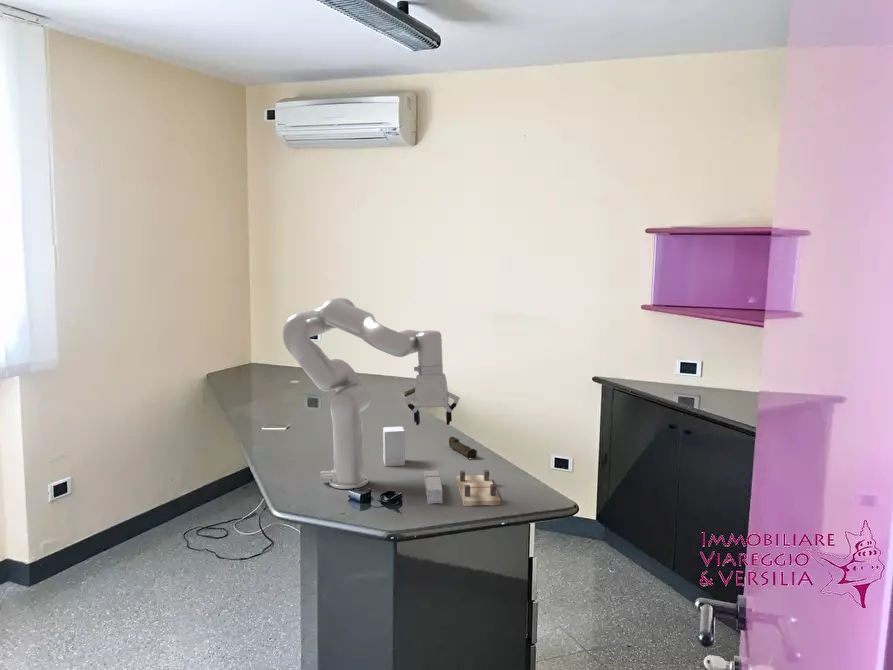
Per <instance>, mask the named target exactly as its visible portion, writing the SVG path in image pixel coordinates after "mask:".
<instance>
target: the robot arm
mask: <svg viewBox="0 0 893 670" xmlns="http://www.w3.org/2000/svg"><path fill="white" fill-rule="evenodd" d="M334 329H338V330H341V331H343V332H346V333H348V334H350V335H353V336H355V337H357V338H359V339H361V340H363V342H365V343H367V344H368V345H369V346H371V347H372V348H374V349H376V350H378V351H380V352H384V353H386V354H388V355H391V356H393V357H398V358H404V357H406V356H408V355H409V356H410V355H412V354H414V353H417V357H418V358H417V360H418V365H417V366H414V367H413V371H414V372H417V375H416V377H415V385H414V393H412V394H410V395H409V396H406V397H405V398H404V402H405V403H406V406H407V407H408V408H409V410H411V411H412V413H413V422H414V423H415V425H416V426H419V425H420V422H421V419H420V417H421V416H420V411H419V409H420V408H444V409H445V410H446V412H445V420H446V421H445V422H446V425H447V426H449V425H450V423H451V422H452V419H453V418H452V411H454V409H455V408H456V407H457V405H458V403H459V401H460V396H458V395H456V394H454V393H452V392H450V391H449V389H448V381H447V377H446V373H444V366H443V345H442V344H443V343H442V341H443V339H442V333H441V332H440V331H438V330H423V331H421V330H420V331H419V330H414V329H412V330H411V329H406V330H403V331H399V332H398V331H397V330H394V329H391V328H389V327H387V326H384V325H383V324H381V323H380V322H378V321H377V320H376V318H375V315H374V314H373V313H371V312H368V311H366V310H363V309H361V308H358V307H356V306H355V304H354V303H353V302H352V301H351V300H350V299H348V298H345V297H339V298H332V299H331V298H330V299H329V300H326V301H325V302H324V303H323V304H322V306H320V307H318V308H316V309H312V310H309V311H308V310H307V311H302V312H297V313H294V314H292V315H291V316H289V317H288V318H287V320H286V321H285V323H284V326H283V328H282V340H283V344H284V345H285V348H286V349H287V351H288V352H289V354H290V355H291V356H292V357H293V359H294V360H295V361H296V362H297V363H298V364H299V366H300V367H301V368H302V369H303V371H304V373H306V375H307V376H308V377H309V378H310V380H311V381H312V382H313V384H314V385H315V386H316V387H317V388H318V389H319V390H320V391H322V392H331V391H333V390H335V391H336V392H335V393H334V394H333V396H332V398H331V400H330V404H329V407H330V409H329V410H330V414H331V421H332V440H333V441H332V442H333V445H332V446H333V447H332V448H333V468H332V469H331V470H328V471H327V470H321V471H320V474H319V477H320V478H323V479H324V480H325V479H329V481H328V482H329V483H328V484H329V486H330V487H332V488H335V489H341V490H351V489H352V490H353V488H354V489H358V488H361V487H364V486H366V485H367V484H368V483H369V478H368V477H367V476H366V475H364V450H363V449H364V441H363V439H364V438H363V437H364V435H363V432H364V431H363V424H362V418H361V413H362V412H363V411H364V410H366V409H367V408H368V407H369V406H370V404H371V402H372V394H371V391H370V389H369V387H368V386H367V385H366V383H365V382H364V380H362V378H360V376H359V375H358V374H357V372H356V371H355V370H354V368H353V367H352V366H351V365H350V364H349V363H348V362H347V361H344V360H343V359H339V358H333V359H330V358H329V357H328V356H327V355H326V353H324V351H323V350H322V348H321V347H319V346H318V344H316V343H315V342H314V341H313V340H312V339H311V338H312V337H316V336H319V335H322V334H325V333H327V332H329V331H331V330H334ZM413 399H414V403H415V405H414V404H413V403H412V402H411V401H412V400H413ZM449 399H452V400H453V402H452V403H451V405H450V404H449Z"/></svg>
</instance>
